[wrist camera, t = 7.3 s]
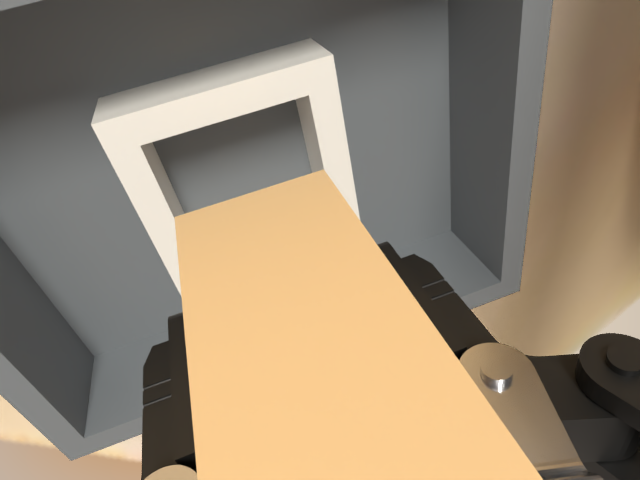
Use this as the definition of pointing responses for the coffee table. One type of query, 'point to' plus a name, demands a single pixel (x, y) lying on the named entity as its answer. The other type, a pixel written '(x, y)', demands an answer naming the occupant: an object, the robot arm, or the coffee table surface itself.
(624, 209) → the coffee table surface
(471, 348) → the robot arm
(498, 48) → the box
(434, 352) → the connector
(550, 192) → the coffee table surface
